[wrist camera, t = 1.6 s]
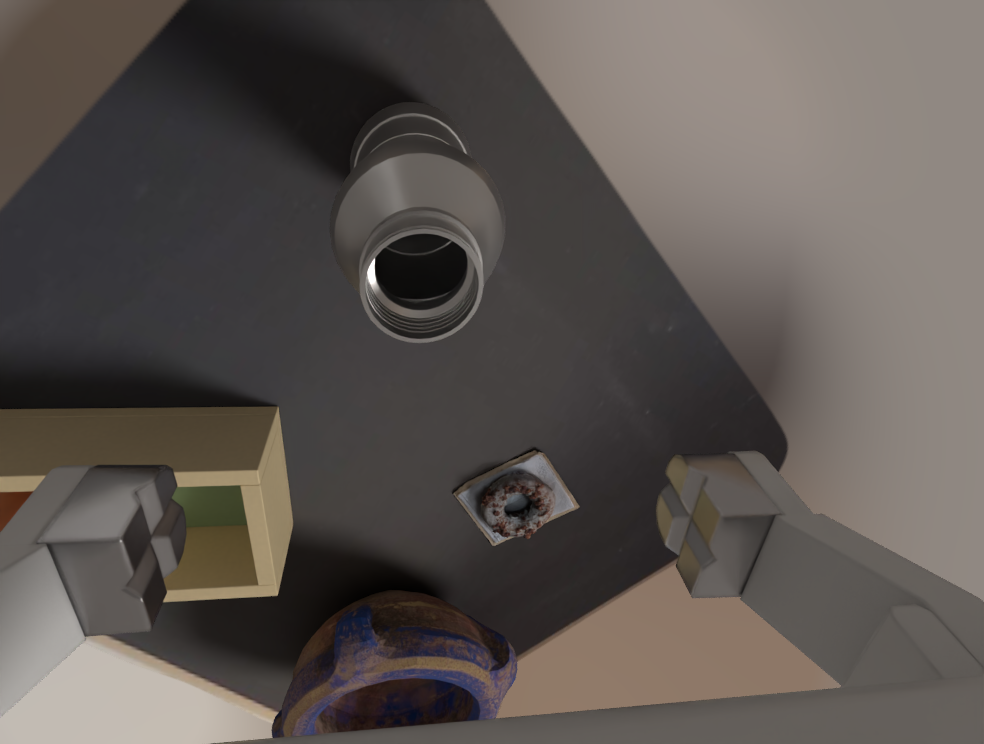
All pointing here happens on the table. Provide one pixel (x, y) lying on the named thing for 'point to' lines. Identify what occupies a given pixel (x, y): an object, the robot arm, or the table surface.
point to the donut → (516, 498)
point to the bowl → (396, 668)
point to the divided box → (178, 481)
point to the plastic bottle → (416, 223)
